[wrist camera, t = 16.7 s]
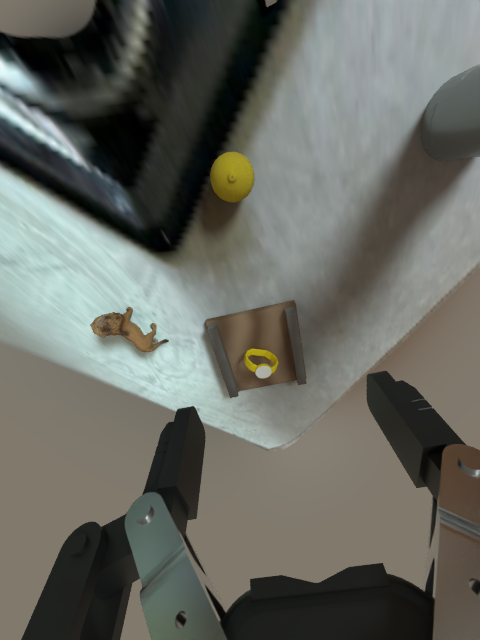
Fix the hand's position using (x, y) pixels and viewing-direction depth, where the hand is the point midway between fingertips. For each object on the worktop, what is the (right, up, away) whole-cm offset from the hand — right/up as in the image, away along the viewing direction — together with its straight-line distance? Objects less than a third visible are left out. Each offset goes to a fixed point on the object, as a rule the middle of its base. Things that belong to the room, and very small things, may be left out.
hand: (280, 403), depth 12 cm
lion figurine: (-20, +3, +34) cm, 40 cm away
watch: (+2, -2, +36) cm, 36 cm away
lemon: (-3, +24, +24) cm, 34 cm away
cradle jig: (+2, -2, +37) cm, 37 cm away
